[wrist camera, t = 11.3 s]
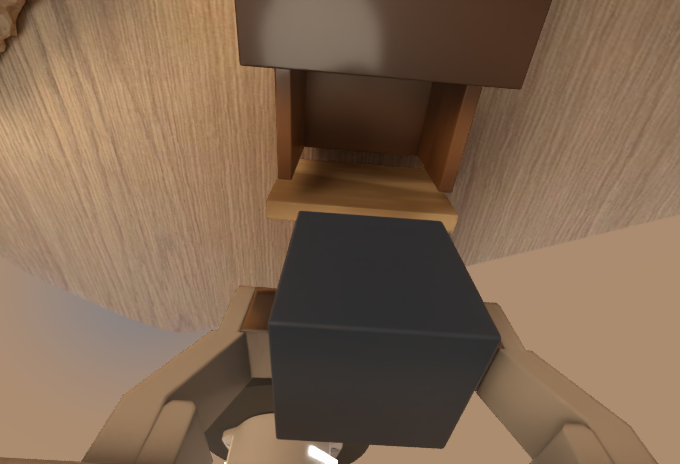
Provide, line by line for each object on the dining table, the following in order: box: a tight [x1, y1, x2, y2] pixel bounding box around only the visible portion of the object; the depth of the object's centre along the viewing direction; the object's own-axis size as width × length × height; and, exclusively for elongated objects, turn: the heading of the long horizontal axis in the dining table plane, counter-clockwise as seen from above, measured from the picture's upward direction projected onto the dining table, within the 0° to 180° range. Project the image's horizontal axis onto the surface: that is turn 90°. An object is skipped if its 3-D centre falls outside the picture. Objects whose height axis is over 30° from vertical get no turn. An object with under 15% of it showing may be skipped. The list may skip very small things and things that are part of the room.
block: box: [268, 211, 501, 449], centre depth 9 cm, size 4×4×4 cm
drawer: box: [266, 68, 482, 232], centre depth 20 cm, size 18×11×8 cm, turn 176°
